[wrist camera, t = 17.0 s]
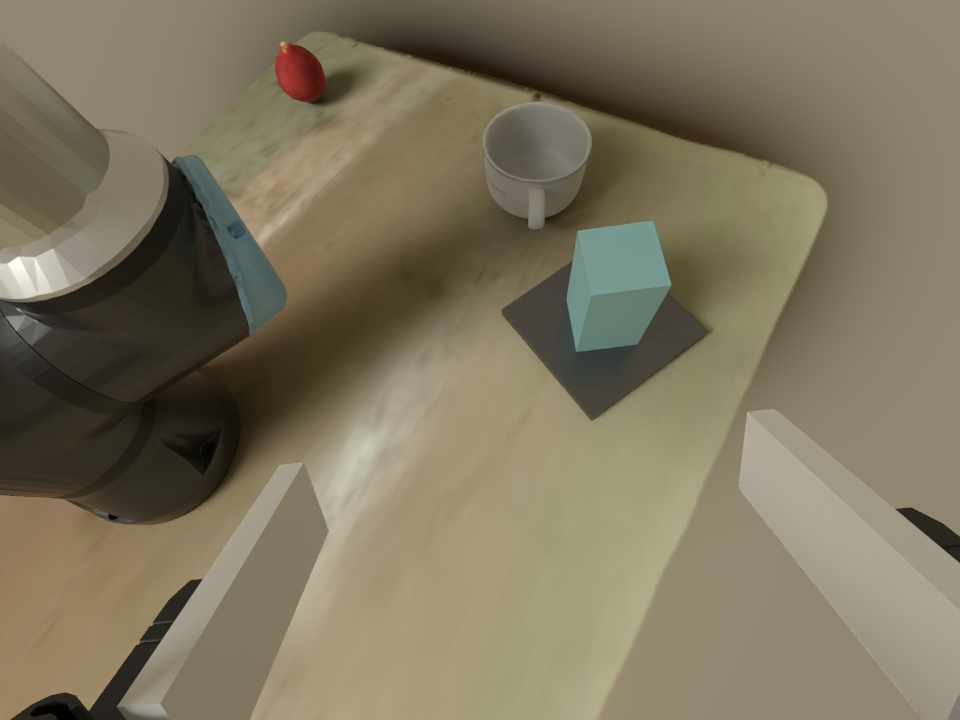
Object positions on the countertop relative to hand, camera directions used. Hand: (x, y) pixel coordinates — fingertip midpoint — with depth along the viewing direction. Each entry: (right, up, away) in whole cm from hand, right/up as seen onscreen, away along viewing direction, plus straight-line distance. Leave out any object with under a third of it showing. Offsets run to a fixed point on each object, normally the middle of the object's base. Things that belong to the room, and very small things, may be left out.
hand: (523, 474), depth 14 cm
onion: (-24, +39, +48) cm, 66 cm away
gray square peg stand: (+11, +7, +31) cm, 34 cm away
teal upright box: (+11, +7, +30) cm, 33 cm away
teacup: (+5, +21, +38) cm, 43 cm away
